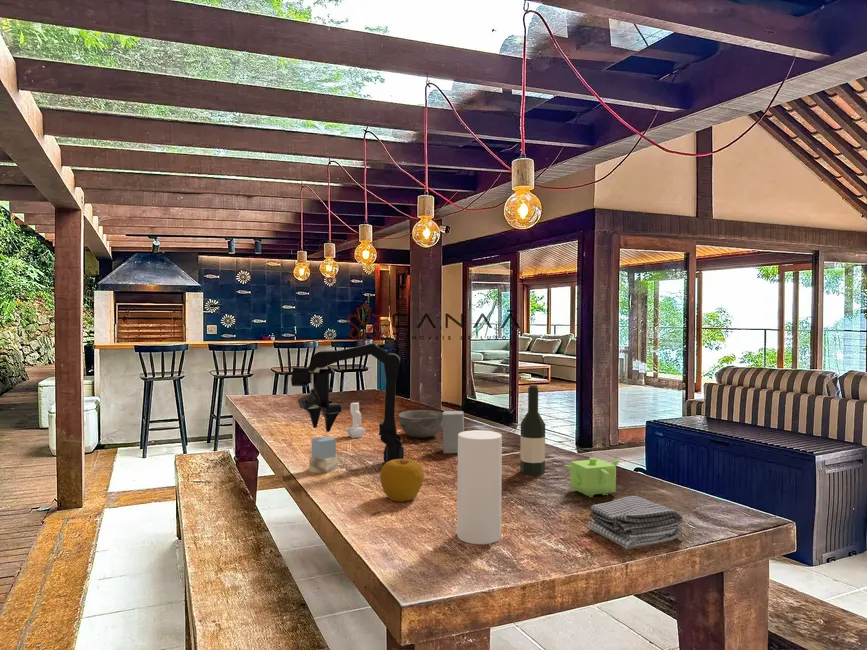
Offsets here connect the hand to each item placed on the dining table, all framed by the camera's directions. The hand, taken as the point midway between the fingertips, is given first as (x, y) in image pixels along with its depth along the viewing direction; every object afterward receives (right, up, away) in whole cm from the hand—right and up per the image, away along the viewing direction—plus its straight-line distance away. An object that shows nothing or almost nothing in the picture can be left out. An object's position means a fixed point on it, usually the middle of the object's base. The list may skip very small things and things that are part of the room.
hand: (321, 429), depth 212 cm
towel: (+90, -15, -65) cm, 112 cm away
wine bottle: (+74, -13, -9) cm, 76 cm away
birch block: (+2, -13, -7) cm, 15 cm away
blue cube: (+2, -8, -7) cm, 11 cm away
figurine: (+6, -12, +47) cm, 49 cm away
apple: (+31, -14, -38) cm, 51 cm away
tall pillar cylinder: (+51, -14, -67) cm, 86 cm away
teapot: (+89, -14, -32) cm, 95 cm away
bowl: (+35, -12, +49) cm, 62 cm away
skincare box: (+48, -13, +20) cm, 54 cm away
